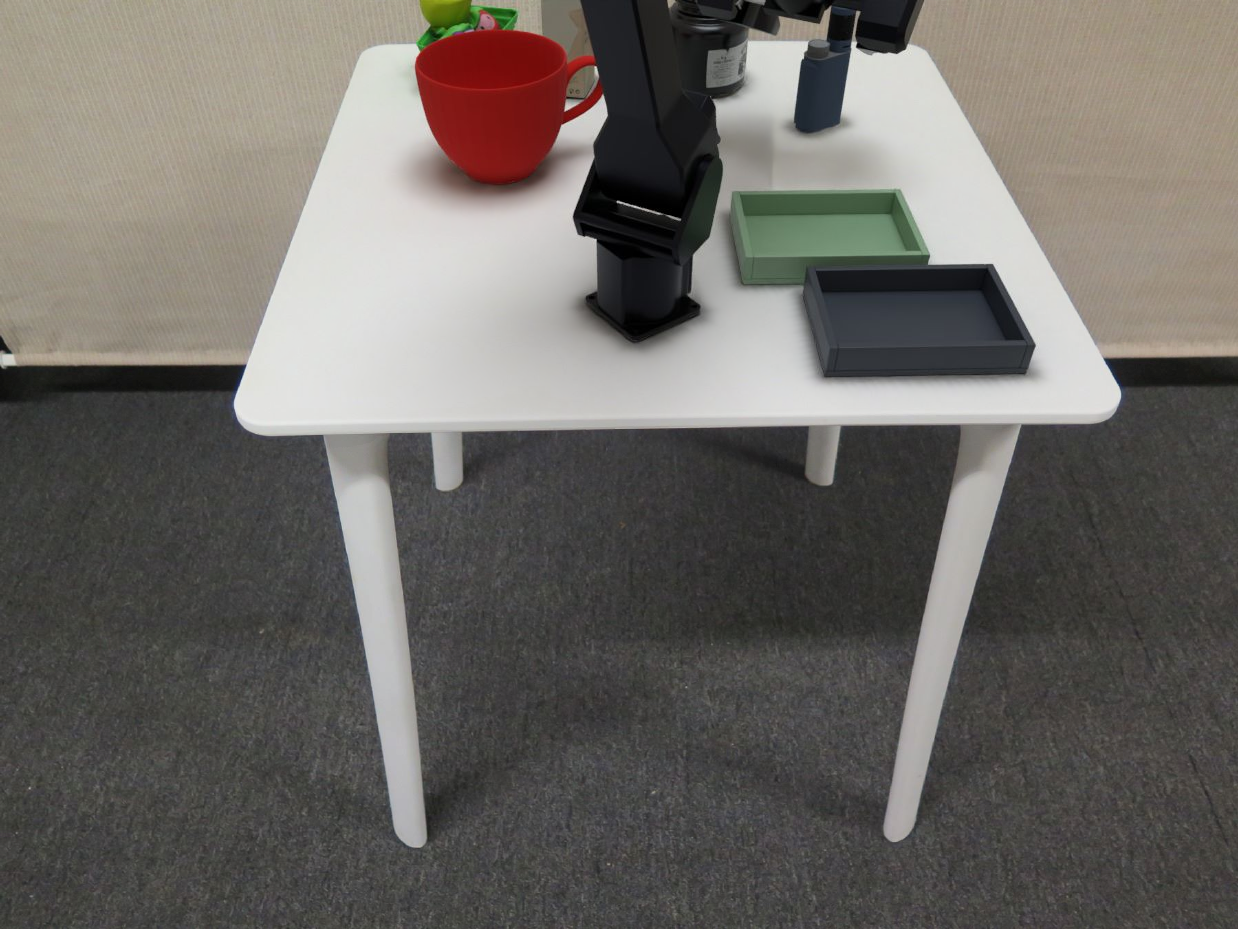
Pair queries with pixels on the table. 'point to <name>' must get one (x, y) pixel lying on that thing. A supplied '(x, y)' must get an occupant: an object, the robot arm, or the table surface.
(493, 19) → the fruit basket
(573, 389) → the table surface
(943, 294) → the charcoal tray
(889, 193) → the sage tray
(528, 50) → the ceramic cup
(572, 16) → the box
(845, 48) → the vaping device
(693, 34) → the ink bottle
